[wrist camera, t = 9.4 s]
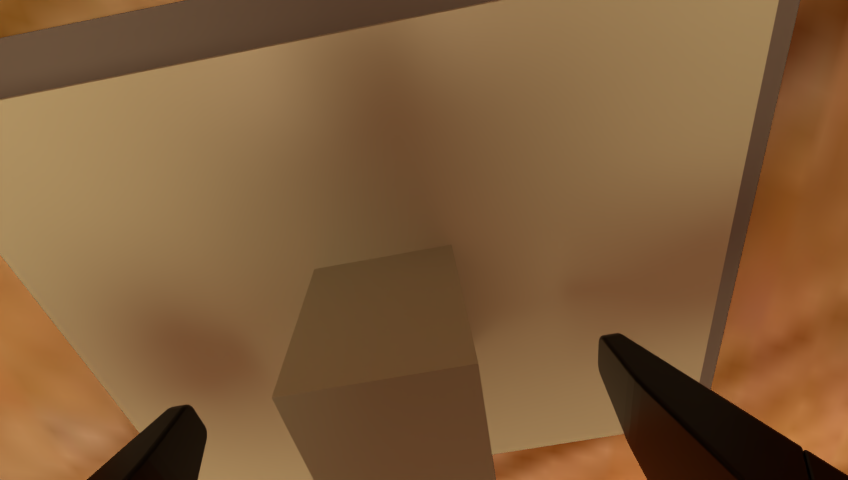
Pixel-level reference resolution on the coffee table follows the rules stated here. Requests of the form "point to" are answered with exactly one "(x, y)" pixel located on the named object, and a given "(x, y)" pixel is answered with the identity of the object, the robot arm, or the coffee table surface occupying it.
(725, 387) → the coffee table surface
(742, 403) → the coffee table surface
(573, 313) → the lid
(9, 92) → the mat
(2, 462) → the coffee table surface
